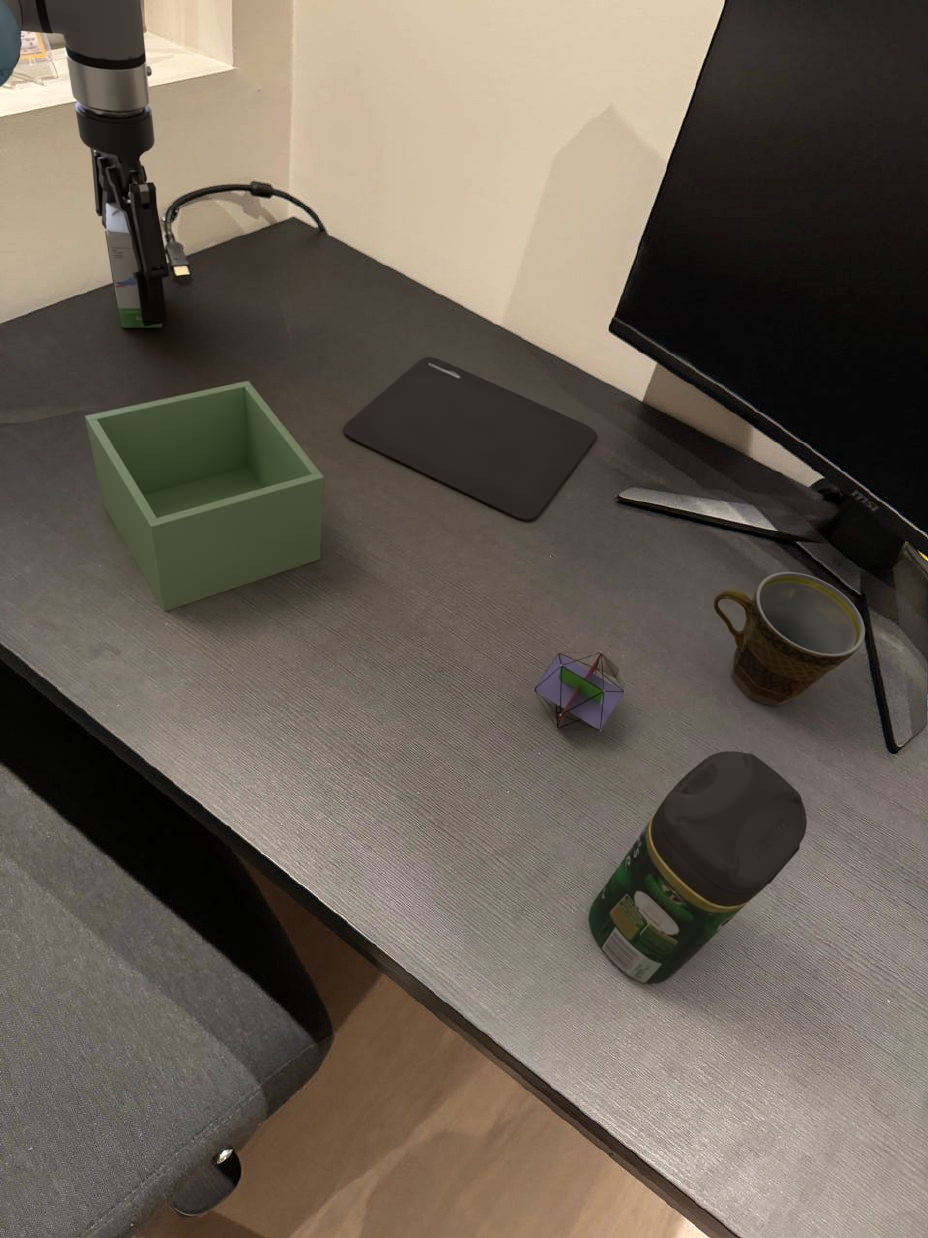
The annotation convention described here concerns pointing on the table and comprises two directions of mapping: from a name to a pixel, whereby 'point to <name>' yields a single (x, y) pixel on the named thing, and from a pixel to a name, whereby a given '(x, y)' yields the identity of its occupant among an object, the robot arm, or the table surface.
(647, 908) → the coffee jar
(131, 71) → the robot arm
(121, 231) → the ink box
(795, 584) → the ceramic cup
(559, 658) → the geometric puzzle
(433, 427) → the mouse pad
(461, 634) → the table surface
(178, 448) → the open square box
